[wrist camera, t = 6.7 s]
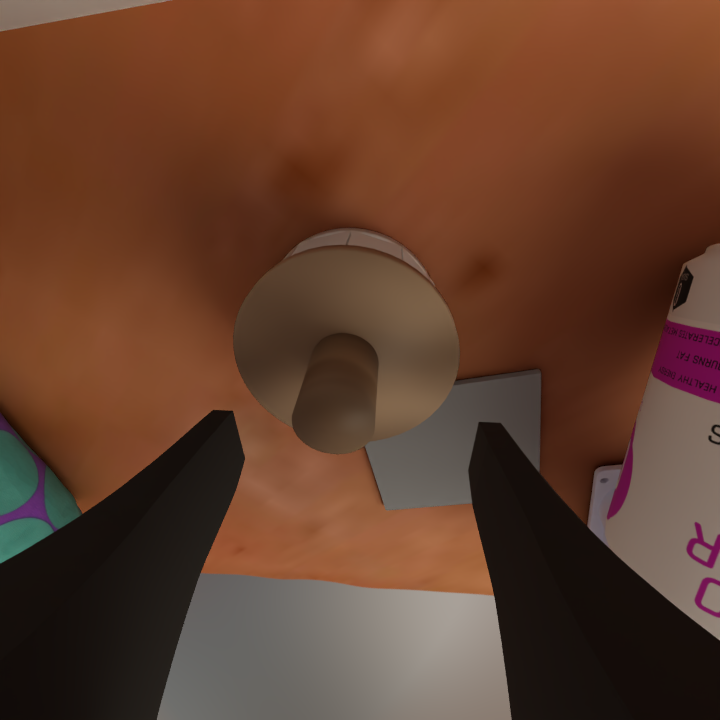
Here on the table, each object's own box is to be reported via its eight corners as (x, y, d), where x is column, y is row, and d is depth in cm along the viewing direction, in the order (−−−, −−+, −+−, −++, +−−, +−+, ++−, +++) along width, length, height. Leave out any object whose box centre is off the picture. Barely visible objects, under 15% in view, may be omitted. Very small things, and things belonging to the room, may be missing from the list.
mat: (537, 493, 27) (539, 497, 27) (386, 505, 29) (385, 510, 29) (539, 368, 21) (541, 372, 21) (350, 396, 24) (349, 400, 23)
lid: (471, 414, 19) (492, 495, 15) (289, 444, 21) (265, 522, 17) (434, 213, 14) (450, 256, 10) (198, 280, 16) (135, 337, 12)
